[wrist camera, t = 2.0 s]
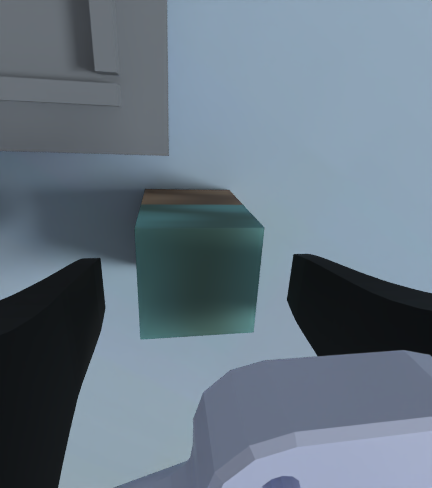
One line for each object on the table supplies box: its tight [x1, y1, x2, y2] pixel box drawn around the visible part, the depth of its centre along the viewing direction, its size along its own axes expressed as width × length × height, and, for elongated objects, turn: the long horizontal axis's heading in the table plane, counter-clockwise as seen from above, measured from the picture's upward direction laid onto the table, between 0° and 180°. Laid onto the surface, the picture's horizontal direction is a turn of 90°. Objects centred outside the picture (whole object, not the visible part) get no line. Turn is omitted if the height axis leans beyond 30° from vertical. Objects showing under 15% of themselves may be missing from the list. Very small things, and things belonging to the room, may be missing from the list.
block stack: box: [135, 189, 264, 339], centre depth 14 cm, size 4×4×6 cm
